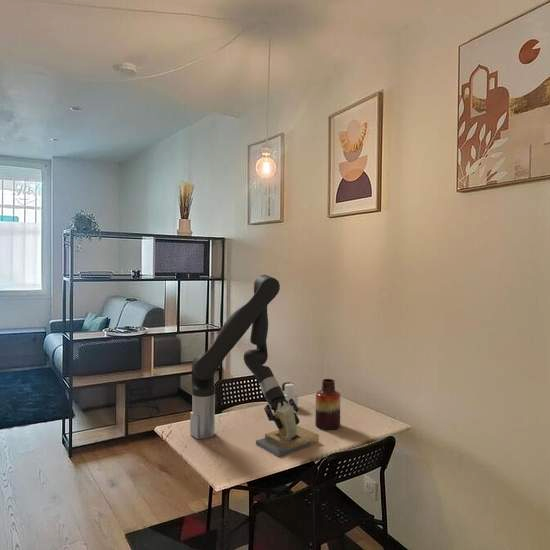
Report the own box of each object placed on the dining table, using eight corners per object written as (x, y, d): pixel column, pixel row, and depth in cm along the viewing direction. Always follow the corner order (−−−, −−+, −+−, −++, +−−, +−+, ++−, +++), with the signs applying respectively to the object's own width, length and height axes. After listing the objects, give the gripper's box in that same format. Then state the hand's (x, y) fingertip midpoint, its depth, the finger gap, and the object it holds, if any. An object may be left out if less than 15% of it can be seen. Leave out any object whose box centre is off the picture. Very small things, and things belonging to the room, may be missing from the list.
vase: (328, 432, 188) (328, 385, 187) (310, 425, 196) (311, 379, 195) (345, 426, 195) (346, 381, 194) (327, 419, 203) (328, 375, 202)
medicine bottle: (278, 405, 221) (278, 382, 220) (291, 404, 224) (291, 380, 223) (284, 410, 214) (284, 386, 214) (297, 408, 217) (298, 384, 217)
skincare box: (289, 431, 181) (285, 403, 179) (297, 433, 178) (293, 405, 177) (279, 439, 176) (275, 410, 174) (288, 441, 173) (283, 412, 172)
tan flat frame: (278, 457, 165) (278, 449, 164) (255, 444, 175) (256, 436, 175) (318, 442, 178) (318, 435, 178) (295, 431, 189) (295, 424, 189)
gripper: (262, 388, 177) (280, 425, 169) (289, 382, 186) (307, 417, 178) (254, 398, 181) (271, 435, 173) (280, 392, 190) (298, 426, 182)
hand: (289, 426), depth 175 cm, fingers open, 8 cm apart
